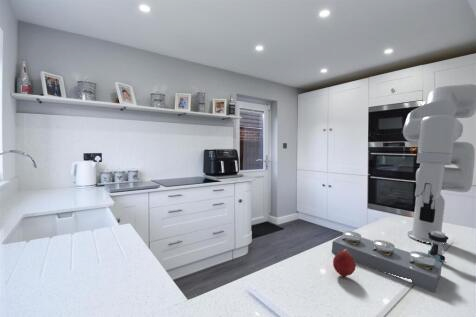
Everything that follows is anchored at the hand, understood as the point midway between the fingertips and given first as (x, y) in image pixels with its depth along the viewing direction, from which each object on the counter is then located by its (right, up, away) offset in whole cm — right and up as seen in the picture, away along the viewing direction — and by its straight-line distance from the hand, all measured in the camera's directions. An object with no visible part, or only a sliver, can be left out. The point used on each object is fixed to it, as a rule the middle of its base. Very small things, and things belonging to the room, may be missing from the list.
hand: (426, 220), depth 68 cm
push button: (+13, -17, +11) cm, 24 cm away
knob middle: (-8, -16, +8) cm, 19 cm away
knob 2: (-1, -16, +1) cm, 17 cm away
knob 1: (-15, -15, +15) cm, 26 cm away
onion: (-25, -16, -1) cm, 30 cm away
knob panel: (-8, -16, +8) cm, 20 cm away
